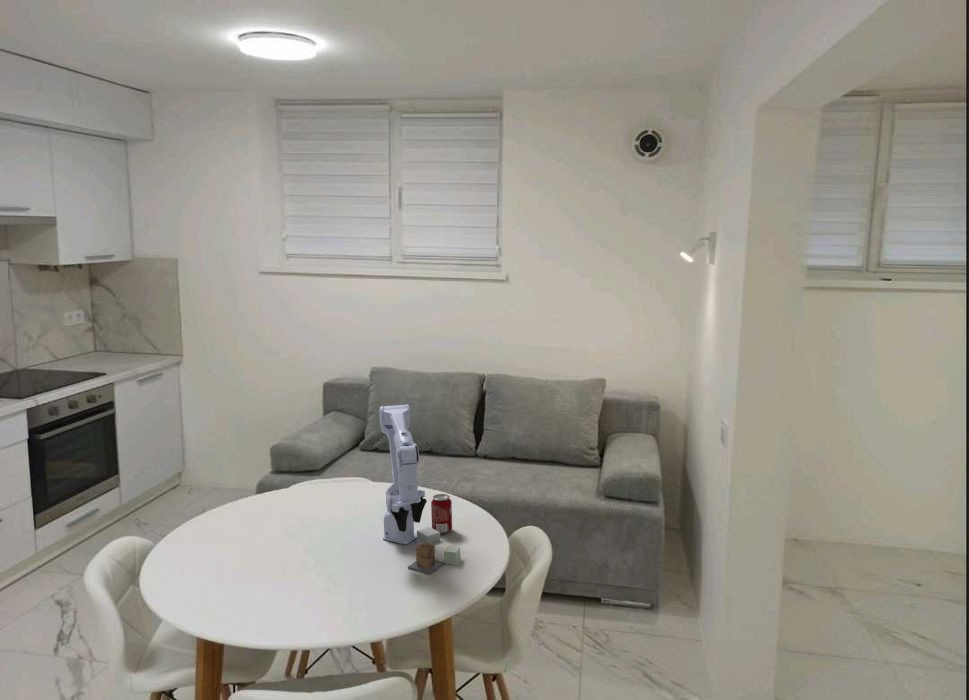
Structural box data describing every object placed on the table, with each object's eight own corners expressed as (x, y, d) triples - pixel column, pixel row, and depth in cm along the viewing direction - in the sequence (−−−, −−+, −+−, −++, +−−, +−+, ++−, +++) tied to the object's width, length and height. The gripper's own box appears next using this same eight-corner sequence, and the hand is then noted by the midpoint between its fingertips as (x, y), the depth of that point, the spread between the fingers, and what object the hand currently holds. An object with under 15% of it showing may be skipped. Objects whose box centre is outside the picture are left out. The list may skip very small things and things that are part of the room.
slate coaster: (407, 568, 222) (407, 566, 222) (423, 558, 228) (422, 556, 228) (430, 574, 218) (430, 572, 218) (444, 563, 225) (444, 561, 224)
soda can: (449, 535, 245) (448, 501, 243) (429, 534, 246) (428, 499, 244) (454, 527, 251) (453, 493, 249) (435, 526, 252) (434, 492, 250)
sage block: (443, 563, 225) (443, 551, 224) (447, 558, 229) (447, 545, 228) (456, 565, 224) (456, 552, 223) (460, 559, 228) (460, 547, 227)
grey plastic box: (416, 539, 243) (416, 530, 242) (429, 535, 246) (429, 526, 245) (427, 545, 238) (427, 536, 238) (440, 541, 241) (440, 532, 241)
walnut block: (424, 560, 225) (423, 541, 224) (435, 563, 223) (434, 544, 222) (416, 565, 222) (416, 546, 221) (427, 568, 220) (427, 549, 219)
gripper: (404, 493, 217) (406, 537, 220) (432, 478, 230) (433, 520, 232) (385, 489, 221) (387, 532, 223) (413, 475, 233) (415, 516, 236)
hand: (409, 526), depth 228 cm, fingers open, 7 cm apart
